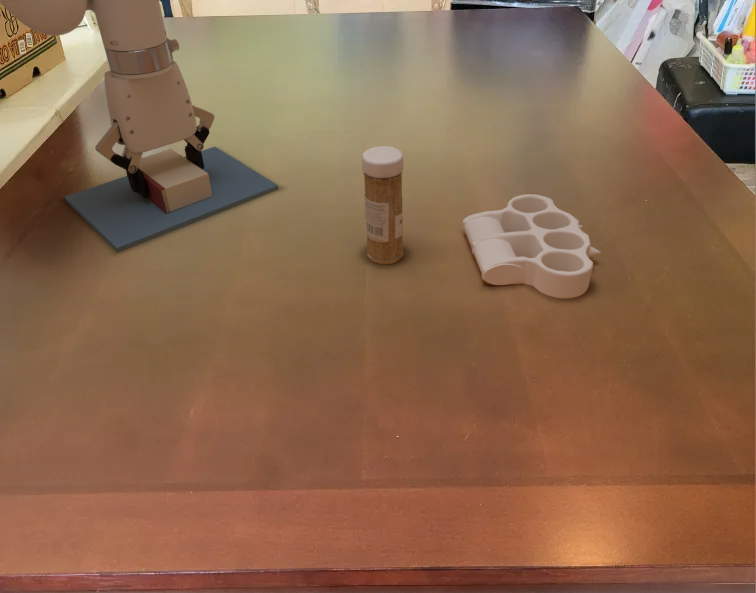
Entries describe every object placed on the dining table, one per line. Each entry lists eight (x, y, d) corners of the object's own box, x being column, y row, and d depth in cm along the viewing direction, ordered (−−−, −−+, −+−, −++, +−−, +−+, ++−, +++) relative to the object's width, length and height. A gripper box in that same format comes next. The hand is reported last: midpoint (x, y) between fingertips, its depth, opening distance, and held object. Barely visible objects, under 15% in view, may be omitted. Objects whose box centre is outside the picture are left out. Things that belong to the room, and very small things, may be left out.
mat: (118, 253, 82) (116, 247, 81) (65, 201, 93) (64, 196, 92) (278, 190, 94) (278, 185, 93) (215, 151, 105) (214, 146, 104)
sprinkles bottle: (410, 257, 79) (411, 154, 71) (380, 270, 77) (377, 166, 69) (388, 241, 82) (387, 140, 74) (358, 253, 80) (353, 151, 72)
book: (131, 185, 94) (125, 162, 92) (176, 170, 98) (171, 148, 96) (166, 213, 88) (160, 189, 85) (213, 196, 91) (208, 173, 89)
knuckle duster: (456, 221, 86) (565, 213, 87) (489, 306, 71) (619, 295, 72) (457, 198, 84) (569, 190, 85) (491, 281, 69) (625, 270, 70)
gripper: (188, 36, 88) (211, 157, 99) (58, 67, 79) (99, 195, 90) (216, 48, 84) (237, 173, 94) (82, 82, 75) (122, 216, 85)
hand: (170, 184), depth 92 cm, fingers open, 7 cm apart
